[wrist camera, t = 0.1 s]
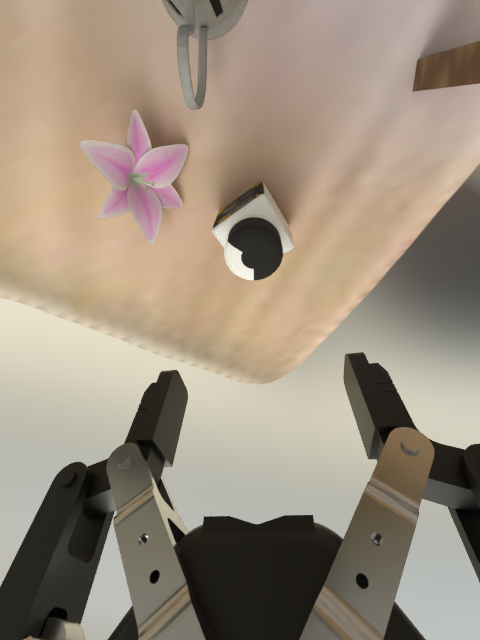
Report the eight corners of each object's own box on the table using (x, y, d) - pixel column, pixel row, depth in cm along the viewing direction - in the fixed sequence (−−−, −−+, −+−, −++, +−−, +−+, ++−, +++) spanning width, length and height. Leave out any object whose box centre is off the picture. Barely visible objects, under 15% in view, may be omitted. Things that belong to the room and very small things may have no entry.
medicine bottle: (262, 179, 34) (265, 206, 24) (290, 227, 37) (301, 266, 28) (217, 212, 37) (203, 248, 27) (246, 254, 40) (243, 298, 30)
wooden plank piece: (417, 60, 27) (506, 32, 17) (466, 48, 26) (587, 13, 17) (412, 91, 28) (492, 81, 19) (459, 81, 28) (566, 66, 18)
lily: (159, 240, 39) (172, 260, 32) (68, 195, 33) (56, 207, 25) (198, 160, 36) (221, 161, 29) (106, 93, 30) (105, 71, 22)
